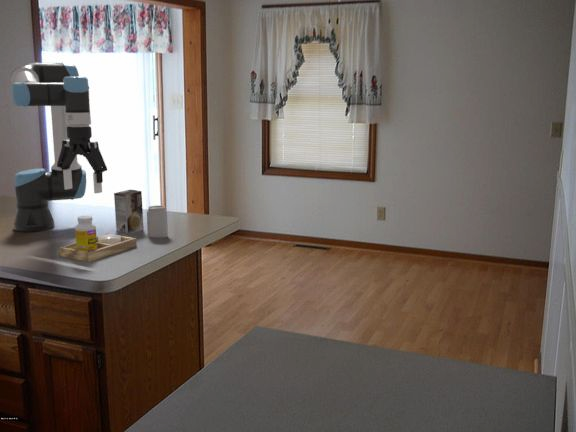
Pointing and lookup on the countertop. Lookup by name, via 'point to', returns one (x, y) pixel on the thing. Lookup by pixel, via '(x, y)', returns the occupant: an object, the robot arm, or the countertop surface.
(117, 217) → the coffee box
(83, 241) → the supplement bottle
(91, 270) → the countertop surface
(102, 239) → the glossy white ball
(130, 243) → the rack
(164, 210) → the can
